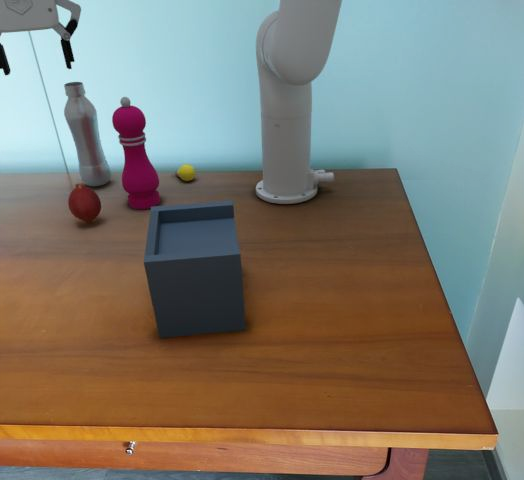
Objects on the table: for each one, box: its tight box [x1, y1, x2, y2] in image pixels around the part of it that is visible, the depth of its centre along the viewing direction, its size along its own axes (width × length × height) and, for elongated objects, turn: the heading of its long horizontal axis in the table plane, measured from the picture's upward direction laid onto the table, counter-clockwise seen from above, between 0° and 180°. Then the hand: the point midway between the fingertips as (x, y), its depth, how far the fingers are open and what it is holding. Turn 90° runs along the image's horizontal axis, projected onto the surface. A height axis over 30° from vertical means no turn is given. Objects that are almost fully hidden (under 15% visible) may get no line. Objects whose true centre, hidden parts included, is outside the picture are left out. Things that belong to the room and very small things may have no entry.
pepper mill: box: [111, 96, 161, 210], centre depth 100 cm, size 7×7×20 cm
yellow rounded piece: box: [174, 163, 196, 182], centre depth 115 cm, size 3×6×4 cm, turn 43°
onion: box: [67, 182, 102, 224], centre depth 98 cm, size 6×6×8 cm
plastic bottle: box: [63, 81, 111, 187], centre depth 109 cm, size 6×7×20 cm
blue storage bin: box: [143, 200, 247, 339], centre depth 75 cm, size 12×16×12 cm
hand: (39, 70), depth 86 cm, fingers open, 9 cm apart
